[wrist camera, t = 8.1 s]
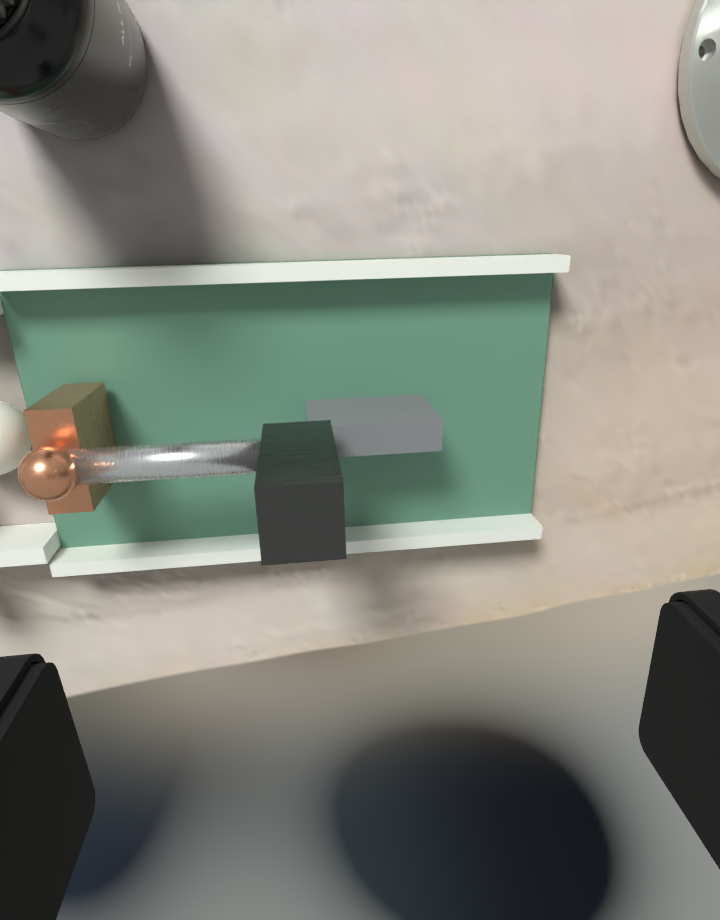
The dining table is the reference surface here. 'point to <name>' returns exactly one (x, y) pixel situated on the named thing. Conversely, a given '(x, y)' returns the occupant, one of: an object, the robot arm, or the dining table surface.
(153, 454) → the copper block with rod
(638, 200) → the dining table surface
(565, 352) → the dining table surface
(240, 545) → the pitch
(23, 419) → the ball
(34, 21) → the supplement bottle
